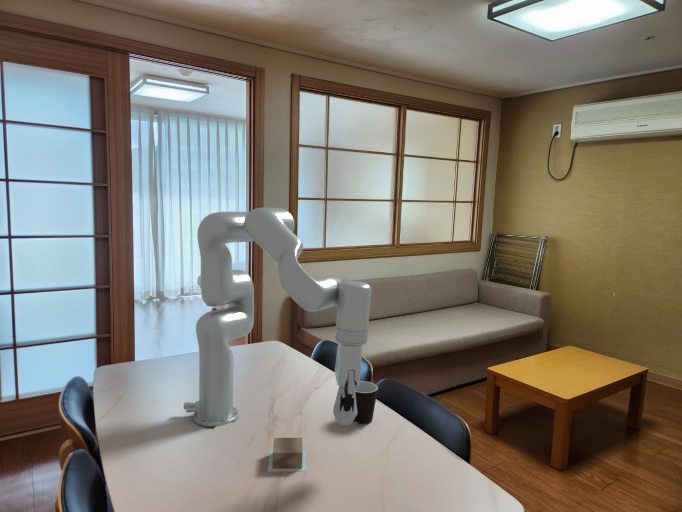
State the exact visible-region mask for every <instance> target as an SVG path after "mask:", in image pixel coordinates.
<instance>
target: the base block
mask: <svg viewBox="0 0 682 512" xmlns="http://www.w3.org/2000/svg"><path fill="white" fill-rule="evenodd" d="M272 447H273V448H272V451H273V461H272V469H299V468H302V454H303V451H304V450H303V437H274V438H273V446H272Z"/></svg>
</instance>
